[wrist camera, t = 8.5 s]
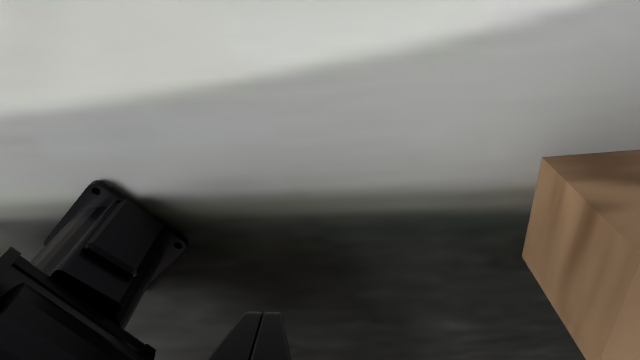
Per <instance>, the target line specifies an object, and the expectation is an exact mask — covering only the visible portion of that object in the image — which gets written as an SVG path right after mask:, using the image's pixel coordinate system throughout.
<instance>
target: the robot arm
mask: <svg viewBox="0 0 640 360" xmlns="http://www.w3.org/2000/svg"><path fill="white" fill-rule="evenodd" d="M96 188H98V189H99V190H100V191H97V190H96ZM176 242H178V243H180V244H181V245H179V244H177V243H176ZM44 245H45V247H44V248H43V249H42V250H41V251H40V252H39V253H38V254H37V256H36V257H35V258H34V259H33V260H32V261H31V262H28V261H27V260H26V259H24V258H23V257H21V256H20V255H21V253H20V252H18V251H17V250H15V249H14V248H13V247H9V248H8V249H7V250H5V251H4V252H3V253H2V254H0V360H154V358H155V352H156V350H155V349H154V348H153V347H151V346H150V345H148V344H146V345H145V344H144V343H142V342H141V341H139V340H138V339H137V338H135V337H134V336H132V335H131V334H130V333H128V332H127V331H125V330H124V329H125V327H126V325H127V323H128V321H129V320H130V318H131V316H132V314H133V312H134V310H135V308H136V307H137V305H138V303H139V301H140V299H141V297H142V295H143V294H144V292H145V290H146V288H147V286H148V285H149V284H150V283H151V282H152V281H153V280H154V279H155V278H156V277H157V276H158V275H159V274H160V273H161V272H162V271H163V270H164V269H165V268H167V267H168V266H169V265H170V264H171V263H172V262H173V261H174V260H175V259H176V258H177V257H178V256H179V255H180V254H181V253H182V252H183V251H184V250H185V249H186V247H187V245H188V240H187V239H186V238H185V237H184V236H182V235H181V234H179V233H178V232H177V231H175V230H174V229H172V228H171V227H169V226H168V225H166V224H165V223H163V222H162V221H160V220H159V219H157V218H156V217H154V216H153V215H151V214H150V213H148V212H147V211H145V210H144V209H142V208H141V207H140V206H138V205H137V204H135V203H134V202H132V201H131V200H129V199H128V198H126V197H125V196H123V195H122V194H120V193H119V192H117V191H116V190H114V189H113V188H111V187H110V186H108V185H107V184H105V183H104V182H102V181H99V180H96V181H93V182H92V183H91V184H90V185H89V186H88V187H87V188H86V189H85V190H84V192H83V193H82V194H81V196H80V197H79V198H78V199H77V201H76V202H75V203H74V204H73V206H72V207H71V208H70V209H69V211H68V212H67V213H66V214H65V216H64V217H63V218H62V219H61V221H60V222H59V223H58V225H57V226H56V227H55V228H54V230H53V231H52V232H51V233H50V235H49V236H48V237H47V238H46V240H45V241H44ZM207 360H291V356H290V351H289V346H288V341H287V336H286V331H285V326H284V321H283V316H282V313H281V312H265V313H264V314H263V313H262V312H252V311H248V312H245V313H244V314H243V315H242V316H241V318H240V319H239V320H238V321H237V323H236V324H235V325H234V326H233V328H232V329H231V330H230V332H229V333H228V334H227V335H226V337H225V338H224V339H223V340H222V342H221V343H220V344H219V345H218V347H217V348H216V349H215V351H214V352H213V353H212V354H211V356H210V357H209V358H208V359H207Z"/></svg>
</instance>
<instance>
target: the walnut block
mask: <svg viewBox="0 0 640 360" xmlns="http://www.w3.org/2000/svg"><path fill="white" fill-rule="evenodd" d="M522 258H523V259H524V261H525V262H526V264H527V266H528V267H529V269H530V270H531V272H532V274H533V275H534V277H535V278H536V280H537V282H538V283H539V285H540V286H541V288H542V290H543V291H544V293H545V294H546V296H547V298H548V299H549V301H550V303H551V304H552V306H553V307H554V309H555V311H556V312H557V314H558V315H559V317H560V319H561V320H562V322H563V323H564V325H565V327H566V328H567V330H568V331H569V333H570V335H571V336H572V338H573V339H574V341H575V343H576V344H577V346H578V348H579V349H580V351H581V352H582V354H583V356H584V357H585V359H586V360H640V150H632V151H619V152H606V153H593V154H579V155H566V156H553V157H542V160H541V165H540V170H539V175H538V180H537V185H536V190H535V194H534V199H533V204H532V209H531V214H530V219H529V224H528V229H527V234H526V238H525V243H524V248H523V253H522Z"/></svg>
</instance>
